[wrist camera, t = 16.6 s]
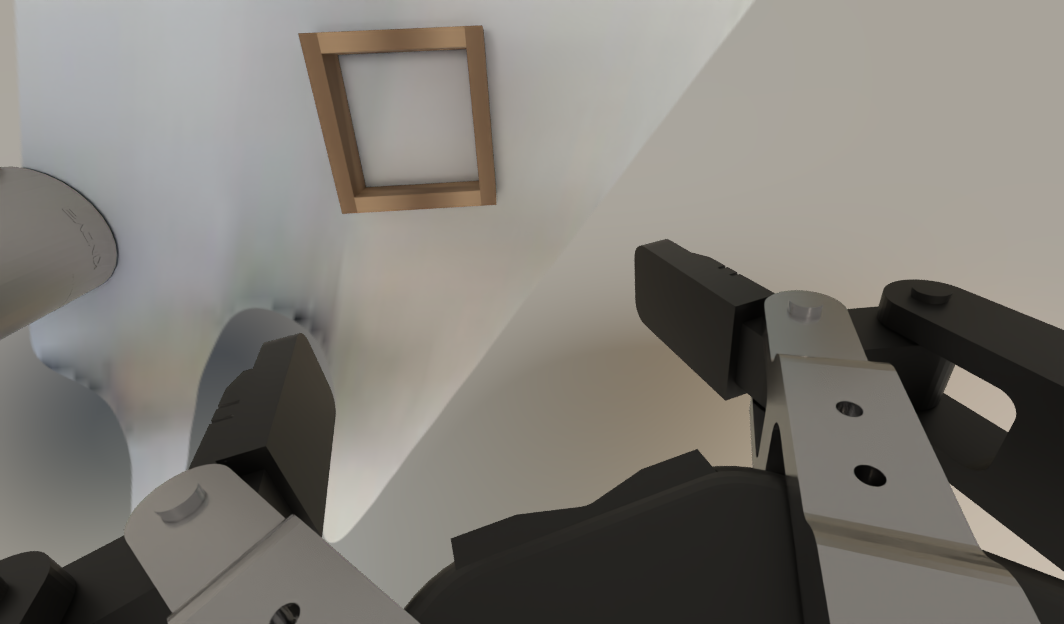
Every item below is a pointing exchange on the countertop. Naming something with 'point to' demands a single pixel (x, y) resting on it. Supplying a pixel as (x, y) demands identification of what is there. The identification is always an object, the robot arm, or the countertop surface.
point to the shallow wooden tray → (340, 131)
